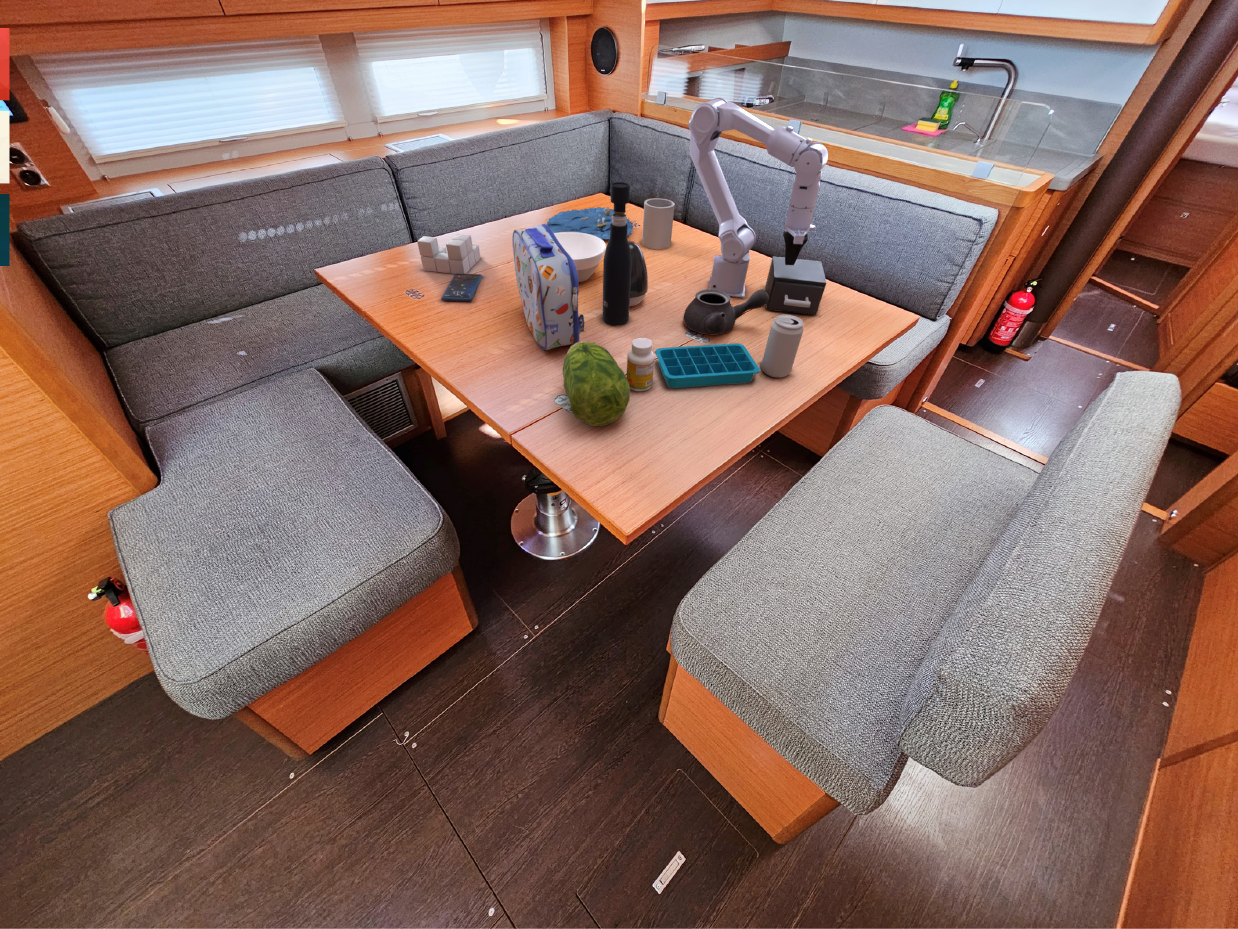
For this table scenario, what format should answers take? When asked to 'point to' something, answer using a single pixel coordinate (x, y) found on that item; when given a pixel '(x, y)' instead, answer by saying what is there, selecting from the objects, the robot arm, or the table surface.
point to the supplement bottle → (640, 365)
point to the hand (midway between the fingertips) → (789, 264)
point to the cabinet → (794, 276)
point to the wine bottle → (617, 261)
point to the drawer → (796, 297)
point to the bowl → (583, 251)
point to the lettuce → (594, 384)
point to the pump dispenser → (637, 275)
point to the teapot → (718, 311)
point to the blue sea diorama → (585, 222)
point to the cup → (657, 223)
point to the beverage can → (782, 345)
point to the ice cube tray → (706, 365)
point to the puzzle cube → (449, 254)
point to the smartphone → (462, 287)
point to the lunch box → (547, 287)
